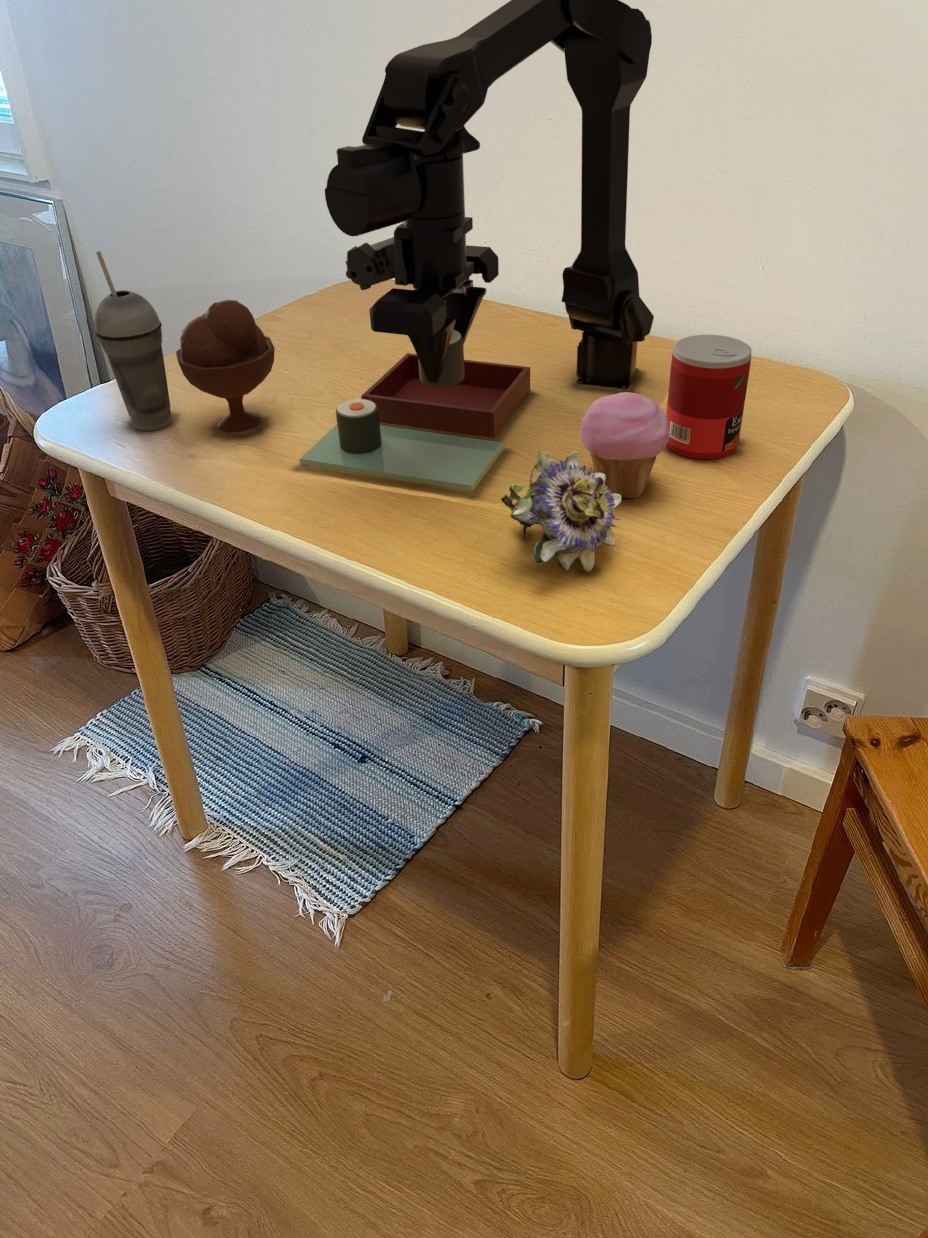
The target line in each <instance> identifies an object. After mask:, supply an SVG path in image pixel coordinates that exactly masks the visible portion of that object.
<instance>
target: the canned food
mask: <svg viewBox="0 0 928 1238" xmlns="http://www.w3.org/2000/svg"><path fill="white" fill-rule="evenodd" d="M751 362H752V347H751V346H750V345H749V344H748V343H746V342H744V341H743V340H740V339H738V338H735V337H732V336H727V335H719V334H697V335H689V336H686V337H683V338H681V339H679V340H677V341H676V342H675V343H674V344H673V349H672V353H671V360H670V370H669V371H670V372H669V382H668V392H667V393H668V394H667V403H666V404H667V405H666V414H665V415H666V417H667V419H668V426H669V433H670V436H669V440H668V443H667V445H666V447H668V448H669V449H670V450H671V451H672V452H674V453H676V454H678V455H679V456H682V457H686V458H689V459H695V460H714V459H720V458H724V457H726V456H729V455H730V454H732V453H734V451H735V450H736V448H737V446H738V444H739V441H740V437H741V436H740V435H741V428H742V423H743V417H744V410H745V403H746V398H747V397H746V396H747V389H748V385H749V384H748V383H749V378H750V370H751Z"/></svg>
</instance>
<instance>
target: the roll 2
mask: <svg viewBox="0 0 928 1238" xmlns="http://www.w3.org/2000/svg"><path fill="white" fill-rule="evenodd" d="M464 351H465V349H464V345H463V336H462V335H461V334H460V333H459V332H458V331H456V330H453V332H452V336H451V339H450V343H449V347H448V350H447V354H446V358H445V361H444V365H443V369H442V372H441V375H440V378H439V381H438V382H437V383H434V382H429V381H427V379H426V376H425V374H424V371H423V369H422V366H421V364H420V361H419V359H418V361H419V375H420V381H421V382H422V383H424V384H426V385H429V386H435V387H445V386H451V385H455V384H458V383H460V382H461V381H462V380H463V379H464V377H465V373H464V360H465V352H464Z"/></svg>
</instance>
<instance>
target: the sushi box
mask: <svg viewBox="0 0 928 1238" xmlns="http://www.w3.org/2000/svg"><path fill="white" fill-rule="evenodd" d="M464 373H465V377H464V379H463V380H462V381H461V382H460V383H458V384H455V385H451V386H445V387H435V386H429V385H426V384H424V383H422V382H421V381H420V375H419V361H418V356H417V354H416V353H409V352H407V353H405V354H404V355H403V356H402V357H401V358H400V359H399V360H398V361H397V362H396V363H395V364H393V366H392V367H390V368H389V369H388V370H387V371H386V372H385V373H384V374H383V375H382V376H381V377H380V378H378V380H377V381H375V383H373V384H372V385H371V386H370V387H369V388H367V390H366V391H364V393H362V394H361V397H360V399H365V400H369V401H372V402H374V403H375V404H376V405H377V406H378V411H379V421H380V423H382V424H391V425H397V426H403V427H404V426H405V427H412V428H420V429H426V430H432V431H433V430H434V431H440V432H441V431H442V432H449V433H456V434H461V435H462V434H463V435H470V436H477V437H483V438H491V439H495V437H496V436H497V435H498V434H499V432H500V431H501V430H502V428H503V427H504V426H505V425H506V423H507V422H508V421H509V419H510V418H511V417H512V415H513V414H514V413H515V411H516V410H517V409H518V407H519V406H520V405H521V404H522V402H523V401H524V400H525V399H526V397H527V396H528V394H530V392H531V367H530V366H525V365H524V366H523V365H516V364H515V365H514V364H506V363H497V362H488V361H481V360H479V361H478V360H471V359H464Z"/></svg>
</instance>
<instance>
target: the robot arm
mask: <svg viewBox="0 0 928 1238" xmlns="http://www.w3.org/2000/svg"><path fill="white" fill-rule="evenodd" d="M549 43H551V44H552V45H553V46H554V47H556V48H557V49H558V50H559V51H561V52H562V53H563V54H564V62H565V72H566V81H567V83H568V85H569V87H570V89H571V91H572V93H573V95H574V97H575V98H576V101H577V103H578V105H579V106H580V107H579V108H580V109H581V172H580V173H581V176H580V177H581V181H580V182H581V184H580V186H581V188H580V194H581V195H580V209H581V210H580V250H579V252H578V253H577V255H576V257H575V258H574V260H573V262H572V263H571V264H570V265H571V266H567V267H564V269H563V271H562V284H563V288H562V295H561V296H562V297H561V303H564V308H565V311H566V314H567V315H568V319H569V323H570V328H571V330H575V331H576V330H577V331H581V339H580V341H579V342H578V344H577V347H576V376H577V377H578V379H577V380H576V384H578V385H587V386H593V387H594V386H595V387H603V388H604V387H605V388H611V389H612V388H613V389H619V390H620V389H621V390H627V389H629V387H630V386H631V384H632V382H633V380H634V379H635V378H636V376H637V373H638V372H639V368H637V366H636V365H637V355H638V354H637V353H638V343H641V342H645V340H646V336H648V335H650V333H651V330H652V326H653V323H654V319H655V315H654V314H653V313H652V312H651V310H650V309H649V307H648V306H647V304H646V303H645V302H644V301H643V299H642V298H641V297H640V284H639V272H638V269H637V267H636V265H635V263H634V262H633V260H632V258H631V256H630V254H629V252H628V250H627V248H626V236H627V235H626V234H627V233H626V232H627V209H628V208H627V207H628V205H627V203H628V179H629V178H628V177H629V176H628V175H629V148H630V147H629V145H630V121H631V120H630V117H631V105H632V104H633V102H634V100H635V98H636V96H637V95H638V94H639V91H640V89H641V88H642V86H643V84H644V82H645V80H646V78H647V76H648V69H649V61H650V53H651V48H652V43H653V34H652V26H651V22H650V20H649V19H647V18H646V16H645V14H644V12H643V11H641V10H640V9H639V8H633V7H631V6H629V5H628V4H627V3H625V2H624V1H621V0H509V1H507V2H506V3H504V4H503V5H502V6H500V7H499V8H497V9H496V10H495V11H492V12H491V13H490V14H488V15H487V16H486V17H484V18H482V19H481V20H479V21H478V22H477V23H475V24H474V25H472V26H471V27H469V28H468V29H466V30H465V31H463V32H462V33H461V34H459V35H457V36H454V37H452V38H449V39H445V40H441V41H435V42H429V43H425V44H421V45H419V46H416V47H413V48H410V49H408V50H405V51H402V52H399V53H397V54H395V55H394V56H393V57H392V58H391V59H390V60H389V61H388V63H387V64H386V66H385V69H384V73H385V76H384V80H383V83H382V85H381V88H380V91H379V92H378V95H377V99H376V100H375V104H374V106H373V108H372V111H371V114H370V116H369V120H368V122H367V125H366V127H365V130H364V133H363V135H362V138H361V140H362V141H361V142H362V145H358V146H351V145H347V146H343V147H339V148H337V149H336V153H335V154H336V161H337V164H336V165H335V166H333V167H332V168H331V170H330V171H329V173H328V176H327V179H326V187H325V188H324V198H325V203H326V207H327V210H328V212H329V215H330V218H331V219H332V221H333V223H334V224H335V226H336V227H337V228H338V230H340V231H341V232H342V233H343V234H345V235H347V236H349V237H358V236H362V235H366V234H369V233H372V232H375V231H378V230H382V229H384V228H388V227H392V226H394V225H397V224H399V225H397V226H396V227H395V229H394V231H393V236H392V237H390V238H386V239H383V240H381V241H378V242H375V243H373V244H370V243H368V242H364V243H362V244H361V245H359V246H357V245H355V246H353V247H352V248H350V249H349V250H347V251H346V260H345V265H346V271H345V276H346V278H347V279H349V280H351V282H352V283H353V284H354V285H357V286H359V288H360V291H366V290H369V289H371V288H372V286H374V285H377V284H380V283H384V282H386V281H390V280H392V279H394V285H395V286H405V287H407V286H409V285H412V289H407V288H406V289H405V288H396V287H393V288H391V289H390V290H388V291H387V292H385V294H383V295H382V296H380V297H379V298H378V299H376V301H375V302H374V303H373V304H372V305H371V307H369V309H368V311H369V321H370V329H371V331H373V332H374V333H381V334H383V333H385V334H392V335H400V336H402V335H403V336H407V337H408V339H409V341H410V342H411V344H412V347H413V350H414V352H415V354H417V356H418V359H419V361H420V364H421V366H422V369H423V371H424V374H425V376H426V379H427V381H429V382H434V383H437V382H438V381H439V378H440V375H441V372H442V369H443V365H444V361H445V358H446V354H447V350H448V347H449V343H450V339H451V336H452V332H453V330H456V331H458V332H459V333H460V334H461V335H462V336H463V346H464V345H465V342H466V341H467V338H468V335H469V332H470V330H471V328H472V325H473V322H474V320H475V318H476V316H477V313H478V311H479V308H480V306H481V303H482V301H483V299H484V297H485V295H486V294H487V288H486V287H481V286H474V280H473V279H470V277H471V276H472V275H480V274H481V278H482V280H483V282H484V283H488V284H490V283H492V282H493V281H494V280H495V279H496V278H497V277H498V276H500V275H499V256H498V255H497V253H496V252H495V251H494V250H493V249H492V247H490V246H479V245H469V244H468V245H467V234H468V233H469V232H470V231H472V230H473V229H474V223H473V217H470V216H466V202H465V200H466V199H465V173H464V172H465V171H464V170H465V169H464V154H467V153H472V152H475V151H478V150H479V149H480V148H481V142H480V141H479V140H478V139H477V138H476V137H475V136H474V135H472V134H471V133H470V132H469V131H468V129H467V128H466V127H465V125H467V123H468V122H469V121H470V120H471V119H472V118H473V117H474V115H476V114H477V113H478V111H480V109H481V108H482V107H483V106H484V104H485V102H486V97H487V94H488V90H489V88H490V87H492V85H493V84H494V83H495V82H496V81H497V80H498V79H501V77H503V76H504V75H506V74H508V73H509V72H510V71H511V70H512V69H514V68H515V67H517V66H518V65H519V64H521V63H523V62H524V61H526V60H527V59H528V58H530V57H531V56H532V55H534V54H535V53H537V52H538V51H539V50H540V49H542V48H543V47H544V46H546V45H547V44H549ZM398 125H399V126H401V127H397V126H398ZM403 127H405V128H403ZM409 128H411V129H409ZM416 129H417V130H416ZM422 130H423V131H422Z"/></svg>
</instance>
